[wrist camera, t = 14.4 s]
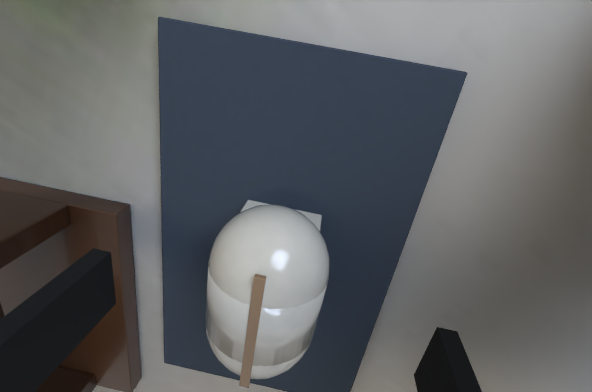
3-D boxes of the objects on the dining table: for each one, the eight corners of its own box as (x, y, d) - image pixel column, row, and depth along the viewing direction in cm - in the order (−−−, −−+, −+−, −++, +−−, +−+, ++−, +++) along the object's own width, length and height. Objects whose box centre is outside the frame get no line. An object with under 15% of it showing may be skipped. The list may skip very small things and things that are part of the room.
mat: (462, 71, 12) (468, 72, 12) (345, 396, 21) (345, 405, 20) (165, 18, 13) (157, 16, 12) (168, 355, 21) (163, 363, 21)
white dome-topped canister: (341, 198, 14) (342, 265, 10) (309, 325, 18) (299, 419, 13) (235, 176, 15) (187, 231, 10) (223, 306, 18) (183, 391, 13)
